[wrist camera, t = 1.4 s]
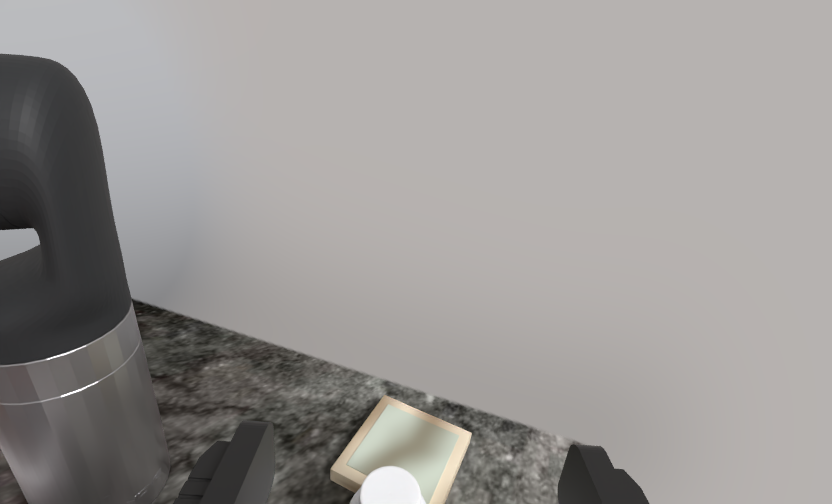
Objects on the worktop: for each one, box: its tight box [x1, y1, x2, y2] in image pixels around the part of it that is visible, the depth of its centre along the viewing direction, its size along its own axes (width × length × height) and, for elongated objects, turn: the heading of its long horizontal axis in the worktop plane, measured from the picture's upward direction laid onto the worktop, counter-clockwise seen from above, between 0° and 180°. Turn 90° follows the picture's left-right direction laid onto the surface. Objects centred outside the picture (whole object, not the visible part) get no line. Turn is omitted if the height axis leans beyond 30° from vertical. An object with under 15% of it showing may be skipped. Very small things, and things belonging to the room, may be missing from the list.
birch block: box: [330, 395, 472, 504], centre depth 40 cm, size 10×10×2 cm
